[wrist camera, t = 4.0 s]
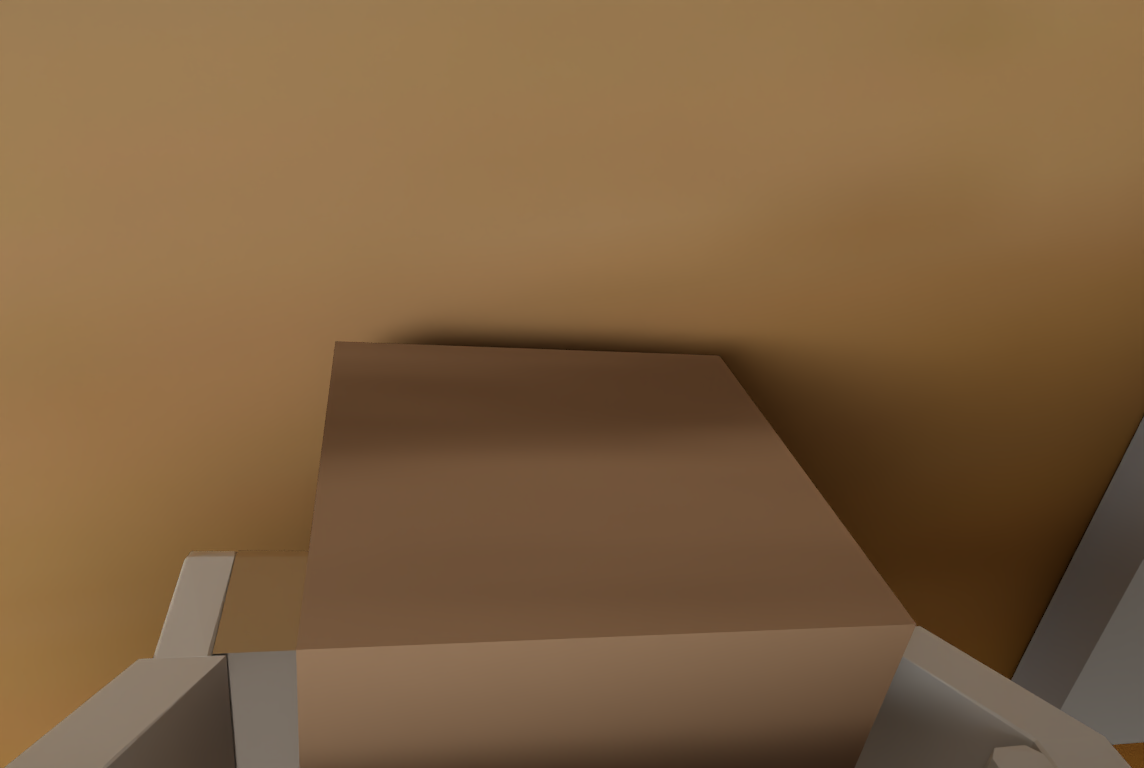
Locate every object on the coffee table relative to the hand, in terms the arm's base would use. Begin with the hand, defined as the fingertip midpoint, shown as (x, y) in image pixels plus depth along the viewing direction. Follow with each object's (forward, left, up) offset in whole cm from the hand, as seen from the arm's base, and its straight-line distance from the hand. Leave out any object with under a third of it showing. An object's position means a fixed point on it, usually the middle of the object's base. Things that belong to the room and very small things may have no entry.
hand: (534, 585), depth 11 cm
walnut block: (0, 0, -2) cm, 2 cm away
